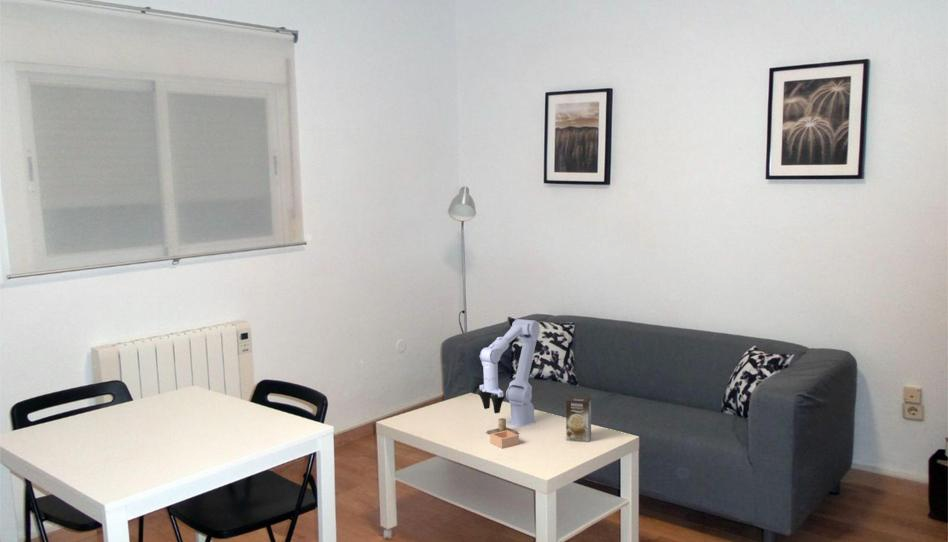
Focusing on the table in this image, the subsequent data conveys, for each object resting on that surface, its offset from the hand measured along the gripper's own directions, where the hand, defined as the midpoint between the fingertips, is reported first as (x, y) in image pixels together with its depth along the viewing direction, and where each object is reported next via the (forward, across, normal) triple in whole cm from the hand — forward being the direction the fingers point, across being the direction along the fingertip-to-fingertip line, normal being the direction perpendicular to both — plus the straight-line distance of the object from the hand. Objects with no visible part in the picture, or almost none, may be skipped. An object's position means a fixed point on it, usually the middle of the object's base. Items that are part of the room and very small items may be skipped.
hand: (491, 410), depth 308 cm
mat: (+10, +2, +4) cm, 11 cm away
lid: (+10, +2, +4) cm, 10 cm away
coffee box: (+10, +25, +24) cm, 36 cm away
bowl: (+10, +13, -3) cm, 17 cm away
